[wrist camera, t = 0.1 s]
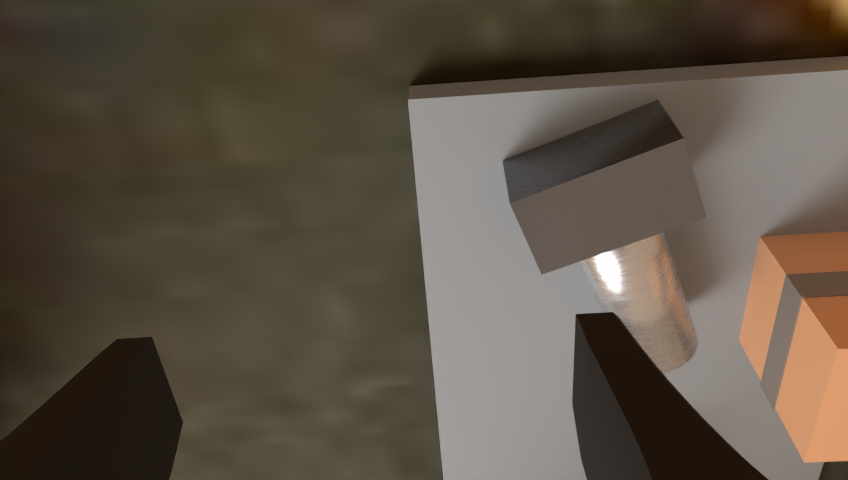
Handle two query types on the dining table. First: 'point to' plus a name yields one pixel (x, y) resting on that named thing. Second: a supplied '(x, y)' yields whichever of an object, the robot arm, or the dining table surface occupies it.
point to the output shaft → (616, 220)
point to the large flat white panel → (568, 287)
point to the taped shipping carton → (802, 337)
